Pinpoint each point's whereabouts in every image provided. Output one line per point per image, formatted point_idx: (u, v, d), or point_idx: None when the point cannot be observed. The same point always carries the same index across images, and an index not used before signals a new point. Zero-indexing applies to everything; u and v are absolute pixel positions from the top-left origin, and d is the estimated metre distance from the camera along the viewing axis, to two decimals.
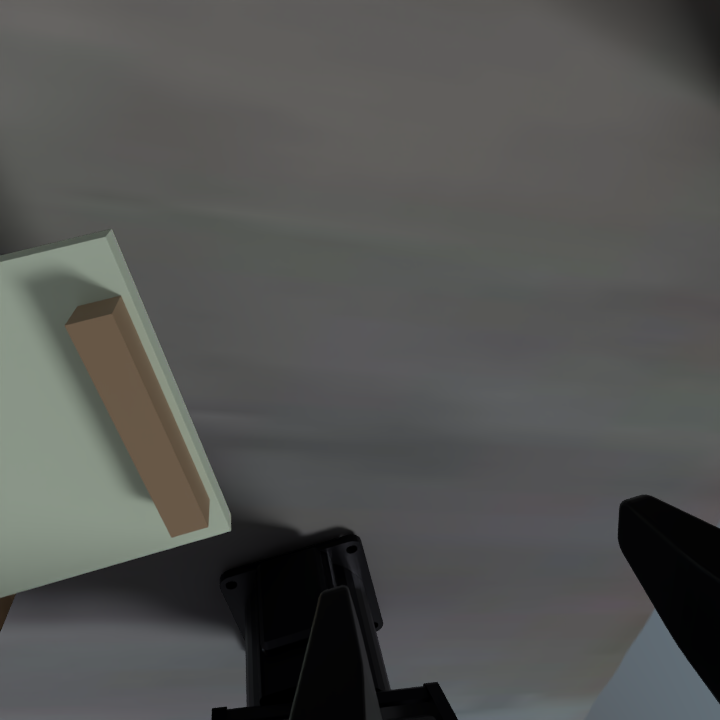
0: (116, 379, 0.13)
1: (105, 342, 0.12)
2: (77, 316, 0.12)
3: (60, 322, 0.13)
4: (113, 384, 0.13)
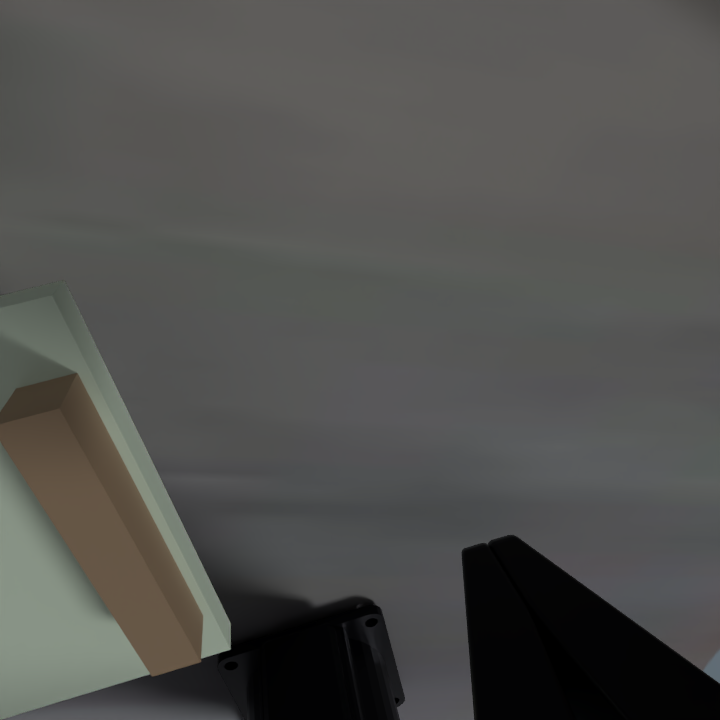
0: (70, 492, 0.09)
1: (52, 446, 0.09)
2: (12, 409, 0.09)
3: None
4: (66, 499, 0.09)
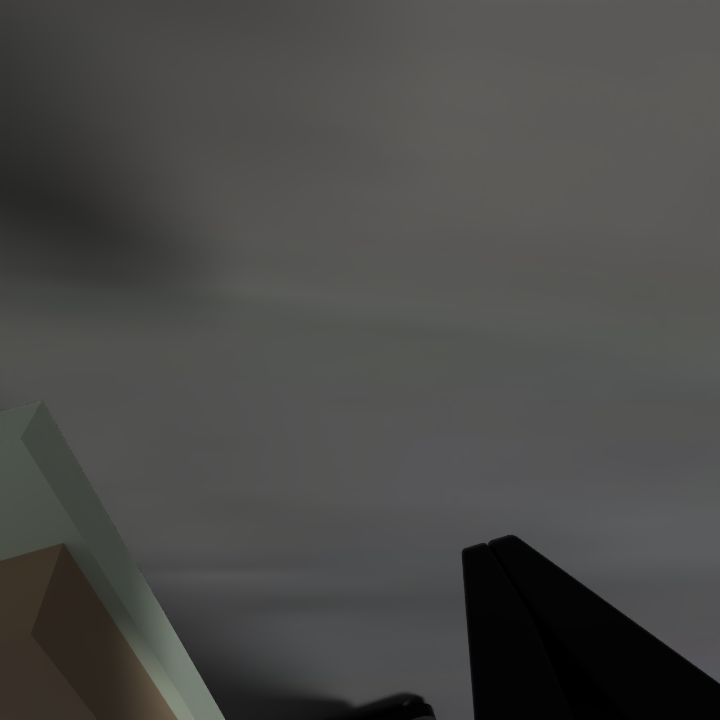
0: None
1: (20, 684, 0.05)
2: None
3: None
4: None
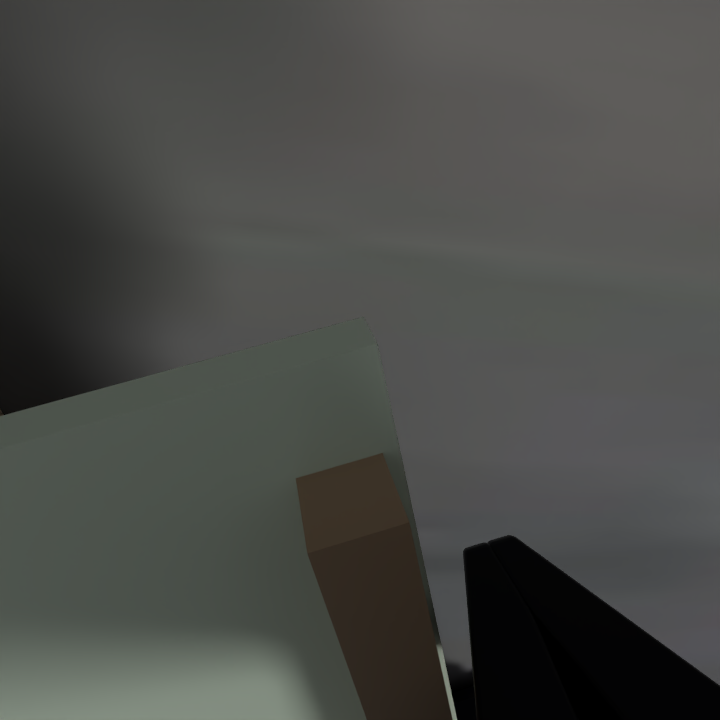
0: (385, 635, 0.06)
1: (382, 575, 0.06)
2: (320, 519, 0.06)
3: (259, 509, 0.06)
4: (378, 644, 0.06)
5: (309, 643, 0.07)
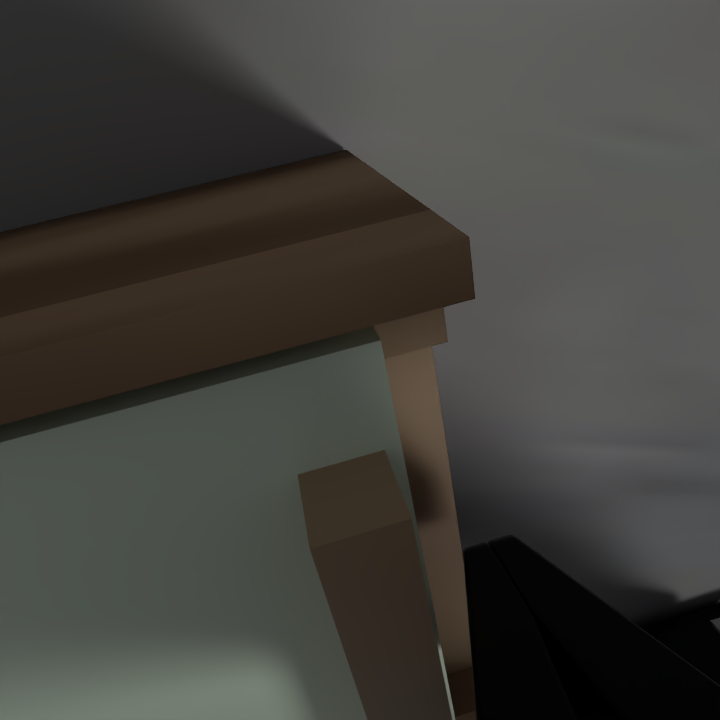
0: (386, 632, 0.06)
1: (383, 571, 0.06)
2: (322, 514, 0.06)
3: (261, 505, 0.06)
4: (378, 641, 0.06)
5: (309, 640, 0.07)
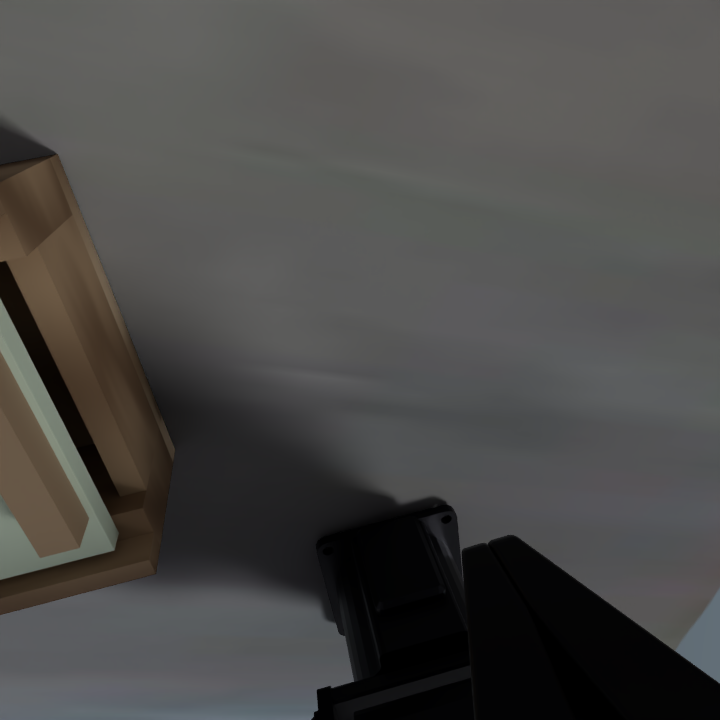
0: None
1: None
2: None
3: None
4: None
5: None
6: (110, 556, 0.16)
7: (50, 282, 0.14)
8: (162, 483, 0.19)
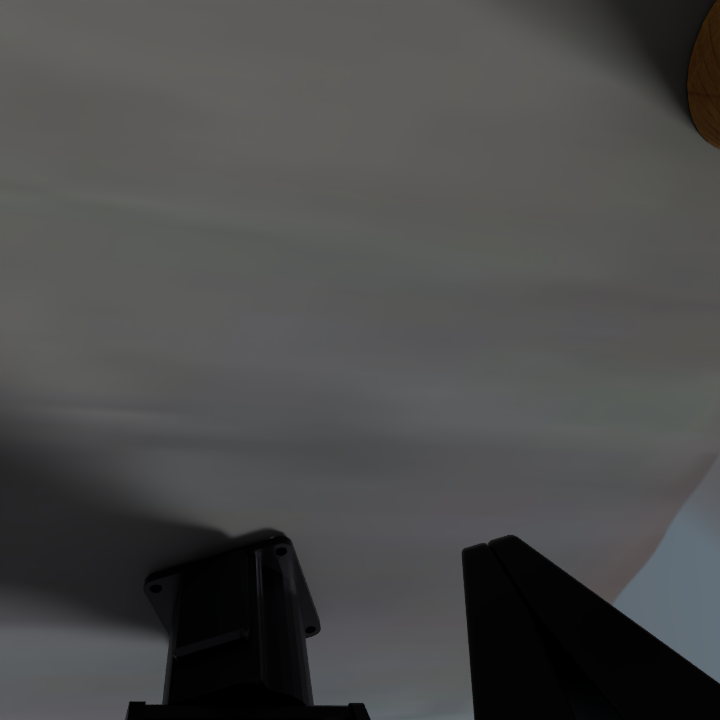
0: None
1: None
2: None
3: None
4: None
5: None
6: None
7: None
8: None
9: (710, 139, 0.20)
